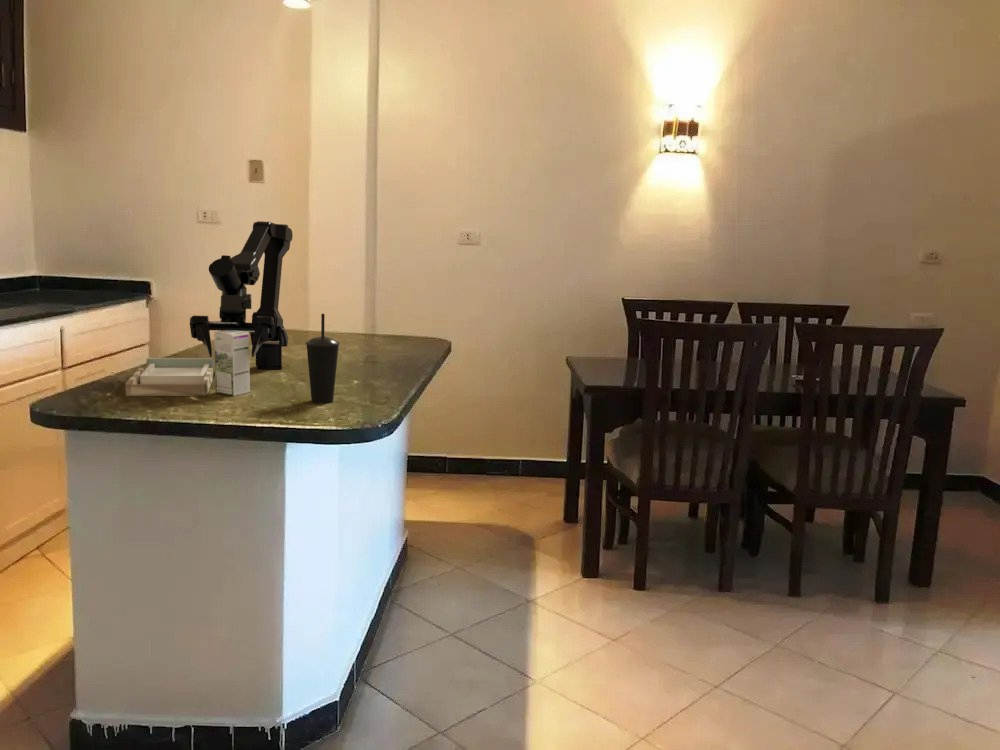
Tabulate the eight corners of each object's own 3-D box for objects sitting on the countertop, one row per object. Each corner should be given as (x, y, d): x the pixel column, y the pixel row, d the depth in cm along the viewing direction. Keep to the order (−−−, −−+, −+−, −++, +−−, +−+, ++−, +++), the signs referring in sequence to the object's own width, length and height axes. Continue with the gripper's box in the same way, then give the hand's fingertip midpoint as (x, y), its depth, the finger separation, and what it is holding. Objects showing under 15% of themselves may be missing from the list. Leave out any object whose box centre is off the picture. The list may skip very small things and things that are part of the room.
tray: (147, 370, 210) (147, 358, 209) (213, 370, 214) (213, 358, 213) (135, 384, 193) (135, 370, 192) (207, 383, 197) (207, 370, 196)
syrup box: (251, 392, 193) (250, 331, 191) (233, 396, 188) (232, 333, 185) (232, 389, 196) (231, 328, 193) (214, 393, 190) (213, 331, 188)
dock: (139, 380, 201) (139, 368, 200) (213, 380, 205) (212, 368, 205) (126, 396, 183) (125, 383, 183) (206, 395, 188) (206, 382, 187)
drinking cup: (310, 405, 182) (310, 315, 179) (301, 398, 189) (301, 312, 185) (343, 403, 186) (344, 315, 182) (333, 396, 193) (334, 311, 189)
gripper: (189, 280, 189) (185, 334, 180) (273, 282, 194) (273, 335, 185) (193, 311, 198) (189, 363, 189) (274, 312, 203) (273, 364, 194)
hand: (231, 356), depth 189 cm, fingers open, 9 cm apart
